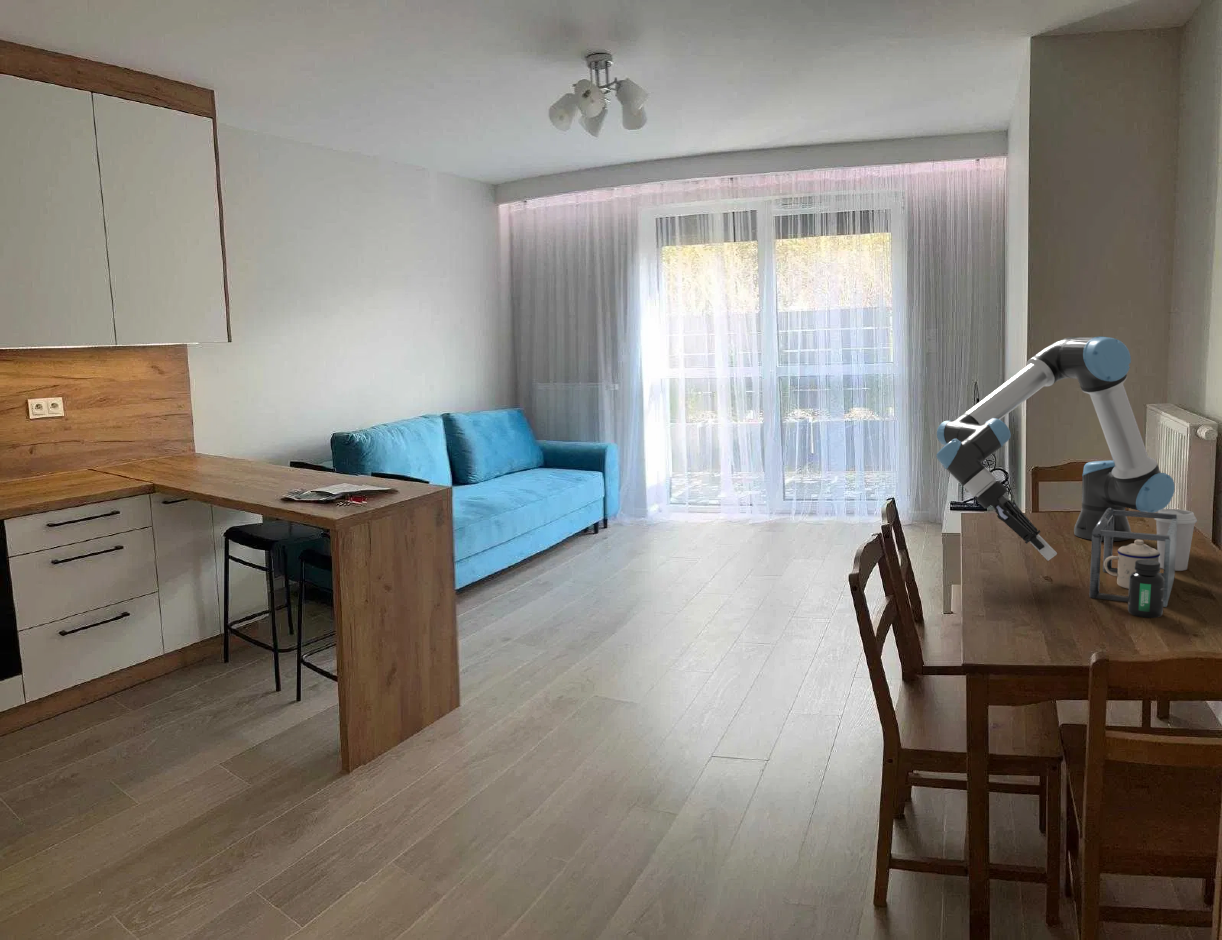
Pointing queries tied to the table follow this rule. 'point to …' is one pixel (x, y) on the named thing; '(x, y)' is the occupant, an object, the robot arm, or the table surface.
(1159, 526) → the coffee cup
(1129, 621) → the table surface
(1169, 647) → the table surface
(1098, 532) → the box
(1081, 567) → the table surface
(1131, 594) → the supplement bottle
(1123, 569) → the teacup with lid
